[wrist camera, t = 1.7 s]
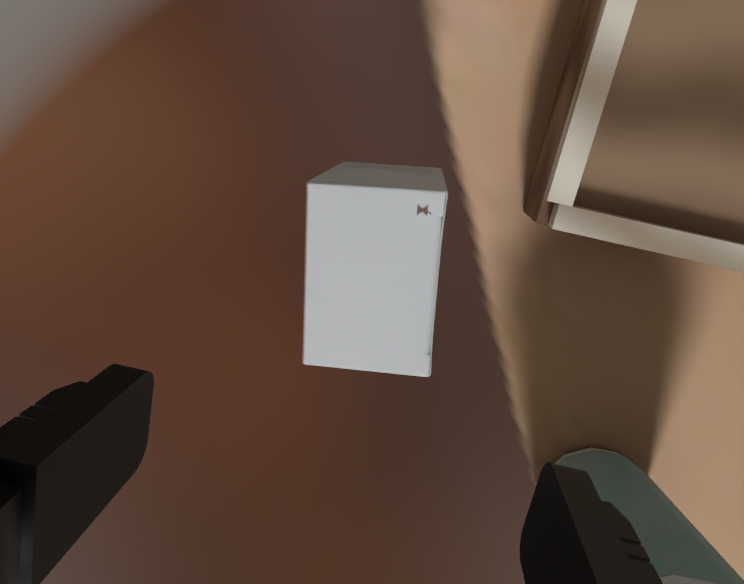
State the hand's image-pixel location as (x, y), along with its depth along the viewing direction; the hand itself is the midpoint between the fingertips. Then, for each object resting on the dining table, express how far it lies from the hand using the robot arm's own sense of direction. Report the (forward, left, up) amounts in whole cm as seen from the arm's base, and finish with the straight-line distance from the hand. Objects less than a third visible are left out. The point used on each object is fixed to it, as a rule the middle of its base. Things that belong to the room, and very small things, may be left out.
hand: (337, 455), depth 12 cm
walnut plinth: (-10, +13, -23) cm, 28 cm away
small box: (0, -1, -23) cm, 23 cm away
